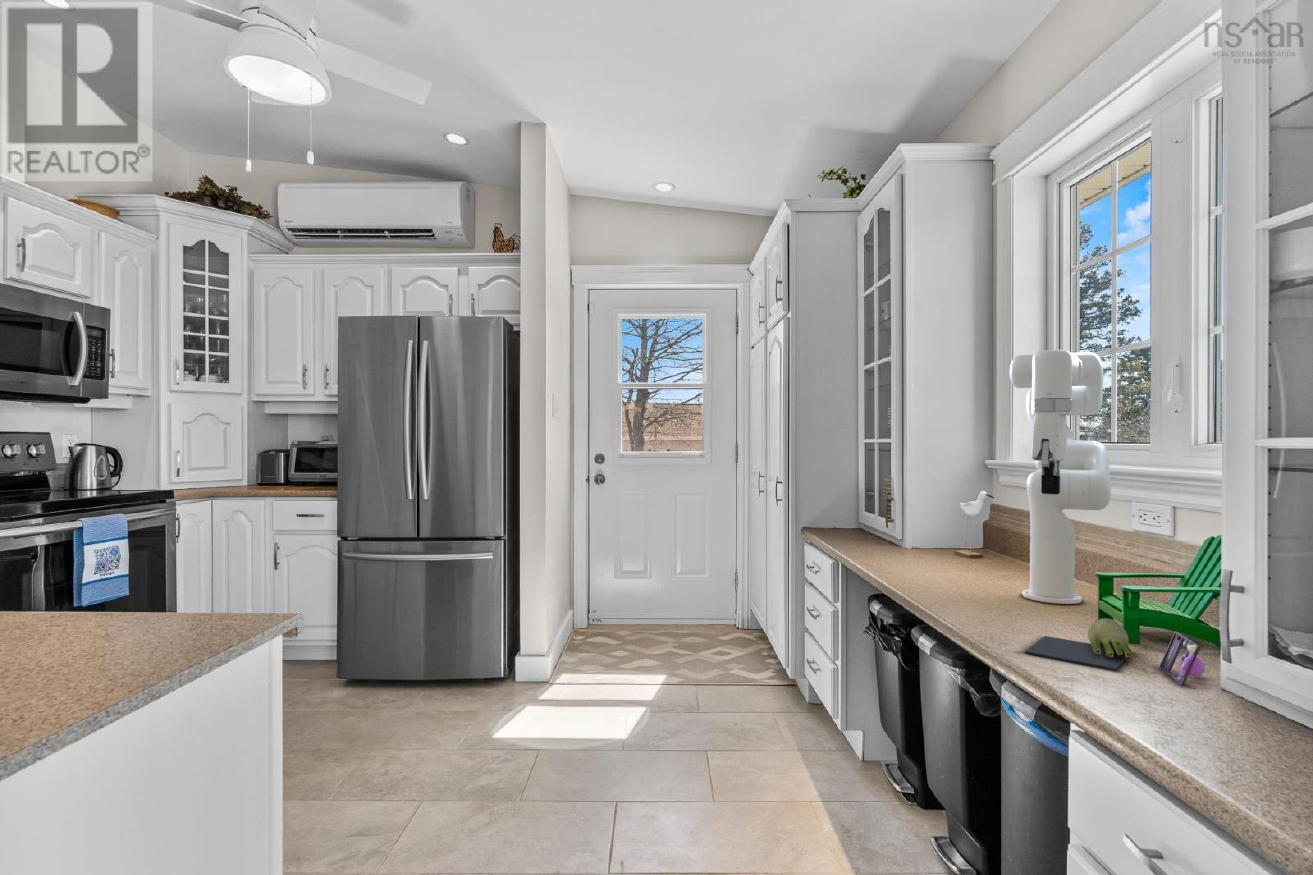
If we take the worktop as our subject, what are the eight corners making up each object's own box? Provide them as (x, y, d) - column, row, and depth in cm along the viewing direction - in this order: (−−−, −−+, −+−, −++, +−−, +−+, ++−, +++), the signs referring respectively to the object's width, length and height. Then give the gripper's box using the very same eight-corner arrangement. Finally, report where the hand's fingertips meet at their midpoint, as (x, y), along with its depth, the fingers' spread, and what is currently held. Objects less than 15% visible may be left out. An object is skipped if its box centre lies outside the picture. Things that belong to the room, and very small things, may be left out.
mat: (1045, 637, 137) (1045, 635, 137) (1131, 653, 128) (1131, 650, 128) (1024, 653, 127) (1024, 651, 127) (1116, 671, 117) (1116, 668, 117)
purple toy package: (1170, 629, 119) (1193, 643, 110) (1204, 642, 117) (1230, 658, 109) (1154, 665, 120) (1175, 682, 111) (1188, 679, 118) (1212, 697, 109)
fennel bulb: (1082, 630, 135) (1090, 655, 124) (1096, 609, 133) (1104, 632, 123) (1115, 646, 133) (1125, 673, 122) (1128, 625, 131) (1140, 650, 121)
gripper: (1041, 410, 159) (1040, 491, 159) (1022, 407, 148) (1021, 494, 148) (1079, 409, 154) (1078, 493, 154) (1062, 406, 143) (1061, 496, 143)
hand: (1050, 493), depth 151 cm, fingers closed
